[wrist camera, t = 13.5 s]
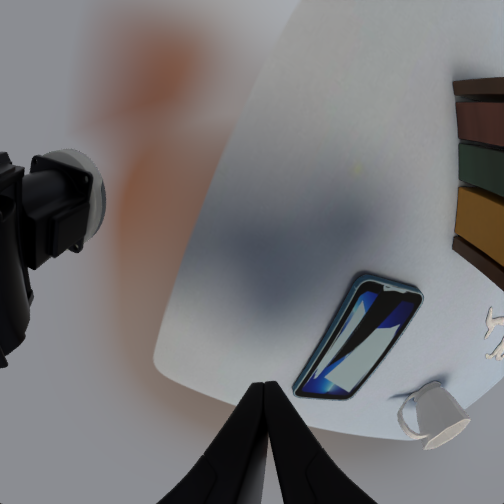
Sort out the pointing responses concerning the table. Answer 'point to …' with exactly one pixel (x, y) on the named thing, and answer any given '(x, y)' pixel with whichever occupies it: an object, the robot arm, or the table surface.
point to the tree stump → (490, 325)
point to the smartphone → (359, 338)
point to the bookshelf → (481, 155)
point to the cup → (435, 416)
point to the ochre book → (481, 220)
